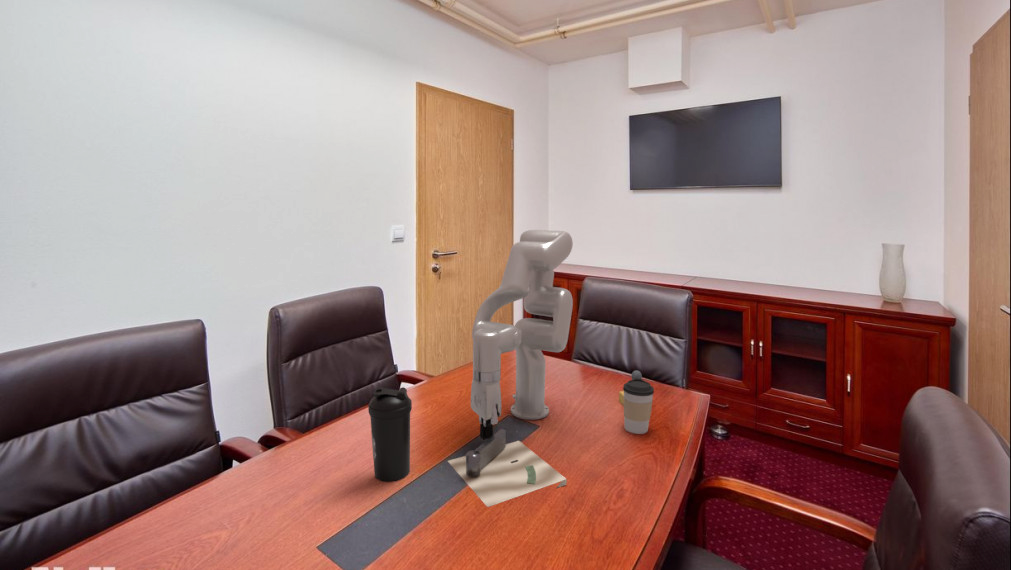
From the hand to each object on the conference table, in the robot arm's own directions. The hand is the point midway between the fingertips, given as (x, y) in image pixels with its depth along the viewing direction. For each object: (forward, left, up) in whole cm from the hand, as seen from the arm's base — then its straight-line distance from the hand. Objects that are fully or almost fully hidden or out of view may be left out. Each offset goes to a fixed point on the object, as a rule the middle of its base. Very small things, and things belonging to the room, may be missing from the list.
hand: (486, 437), depth 131 cm
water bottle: (+1, -27, -4) cm, 27 cm away
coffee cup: (+12, +46, -4) cm, 48 cm away
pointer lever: (+8, -4, -2) cm, 10 cm away
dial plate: (+14, -2, -4) cm, 14 cm away
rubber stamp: (-2, +60, -4) cm, 60 cm away
